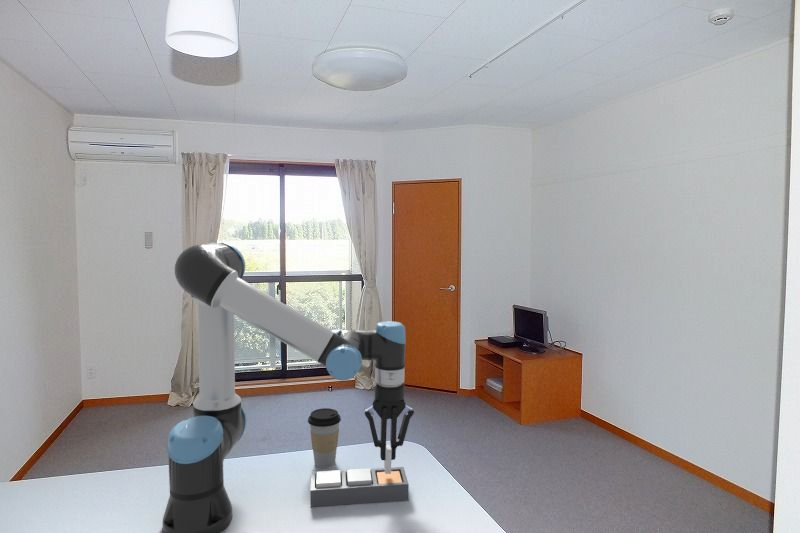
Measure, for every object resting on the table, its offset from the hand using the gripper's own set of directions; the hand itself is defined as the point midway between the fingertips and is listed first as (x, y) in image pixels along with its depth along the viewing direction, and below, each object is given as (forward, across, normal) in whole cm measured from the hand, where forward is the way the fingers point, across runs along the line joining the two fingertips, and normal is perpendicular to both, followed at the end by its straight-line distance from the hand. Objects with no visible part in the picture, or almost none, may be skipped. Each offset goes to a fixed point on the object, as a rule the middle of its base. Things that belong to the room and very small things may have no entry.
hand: (387, 471), depth 130 cm
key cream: (+3, -15, 0) cm, 15 cm away
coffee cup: (+6, -16, +18) cm, 25 cm away
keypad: (+6, -7, 0) cm, 9 cm away
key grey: (+3, -7, 0) cm, 8 cm away
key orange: (+4, +1, 0) cm, 4 cm away
